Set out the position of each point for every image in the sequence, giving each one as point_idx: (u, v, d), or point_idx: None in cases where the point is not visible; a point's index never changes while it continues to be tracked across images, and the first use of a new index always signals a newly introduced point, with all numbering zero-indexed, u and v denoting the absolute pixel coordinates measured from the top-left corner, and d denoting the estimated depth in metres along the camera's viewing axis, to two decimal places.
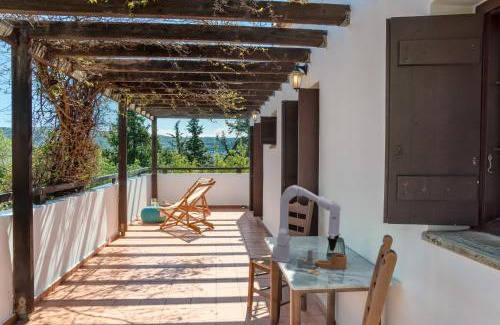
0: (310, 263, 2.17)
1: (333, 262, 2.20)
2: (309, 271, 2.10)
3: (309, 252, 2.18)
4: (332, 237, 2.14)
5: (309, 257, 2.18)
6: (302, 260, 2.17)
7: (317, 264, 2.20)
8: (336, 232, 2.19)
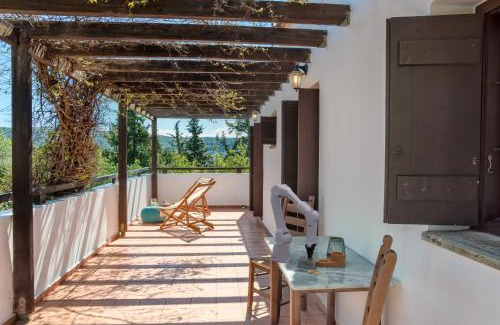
0: (310, 263, 2.17)
1: (334, 260, 2.23)
2: (309, 271, 2.10)
3: None
4: (309, 245, 2.12)
5: None
6: (302, 260, 2.17)
7: (320, 263, 2.21)
8: (313, 240, 2.16)
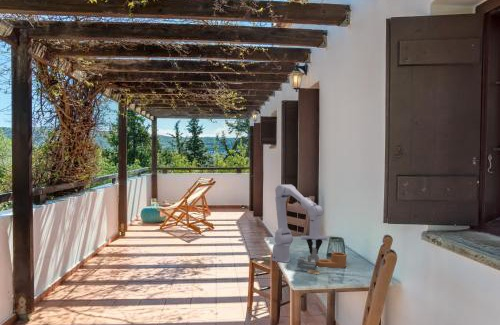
0: (308, 260, 2.12)
1: (334, 261, 2.22)
2: (309, 271, 2.10)
3: None
4: (301, 238, 2.12)
5: (311, 254, 2.13)
6: (302, 260, 2.17)
7: (320, 264, 2.20)
8: (311, 235, 2.10)
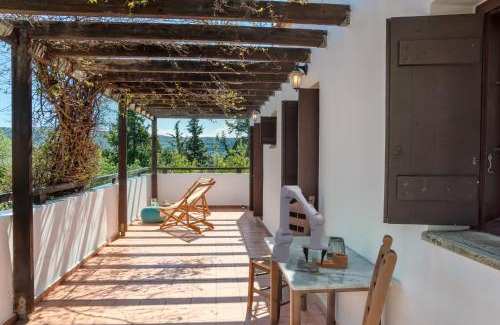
0: None
1: (335, 261, 2.21)
2: None
3: (312, 259, 2.10)
4: (301, 246, 2.12)
5: None
6: (302, 260, 2.17)
7: (319, 264, 2.20)
8: (310, 244, 2.08)
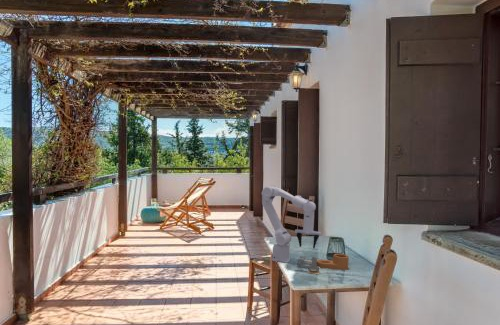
0: None
1: (335, 262, 2.19)
2: None
3: (312, 259, 2.10)
4: (295, 231, 2.25)
5: None
6: (302, 260, 2.17)
7: (319, 264, 2.20)
8: (303, 229, 2.22)
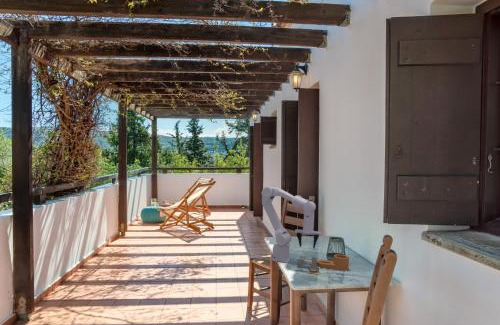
0: None
1: (335, 262, 2.18)
2: None
3: (312, 259, 2.10)
4: (295, 231, 2.26)
5: None
6: (302, 260, 2.17)
7: (318, 264, 2.20)
8: (303, 229, 2.23)
